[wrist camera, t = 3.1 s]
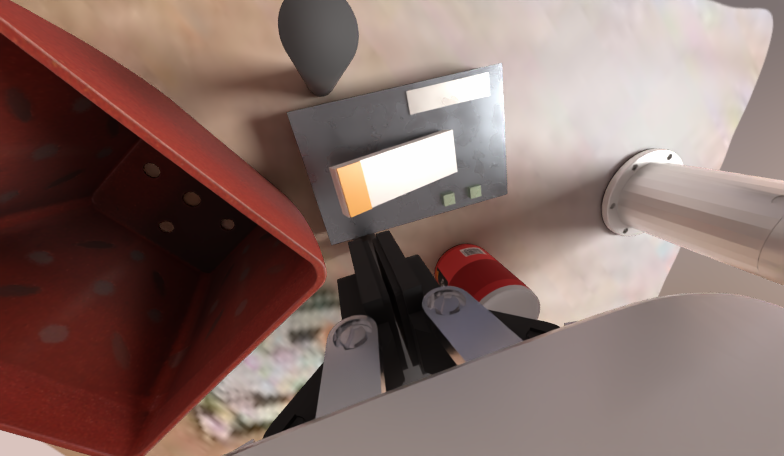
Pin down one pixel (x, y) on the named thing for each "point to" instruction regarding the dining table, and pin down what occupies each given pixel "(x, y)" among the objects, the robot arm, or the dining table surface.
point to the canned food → (486, 281)
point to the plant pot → (125, 249)
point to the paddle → (393, 172)
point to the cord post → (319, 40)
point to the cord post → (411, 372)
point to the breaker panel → (402, 124)
